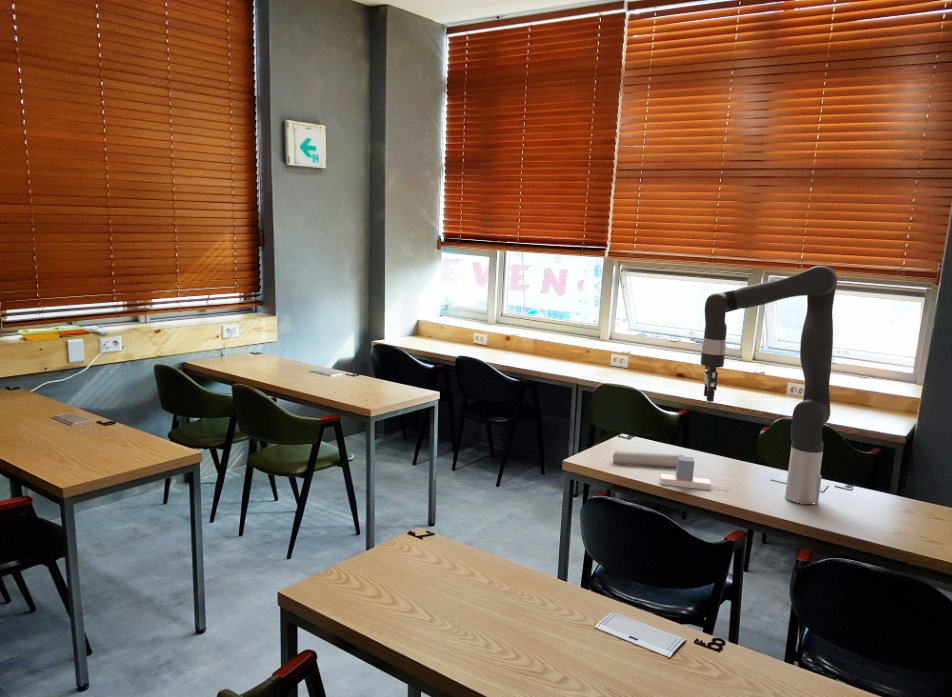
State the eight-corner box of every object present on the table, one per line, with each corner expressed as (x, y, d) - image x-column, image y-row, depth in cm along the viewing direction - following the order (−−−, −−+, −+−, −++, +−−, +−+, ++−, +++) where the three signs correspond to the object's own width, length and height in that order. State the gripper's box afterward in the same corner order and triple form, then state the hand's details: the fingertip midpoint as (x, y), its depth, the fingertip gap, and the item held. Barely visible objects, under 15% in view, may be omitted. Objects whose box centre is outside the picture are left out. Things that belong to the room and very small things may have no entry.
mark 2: (718, 486, 240) (718, 488, 240) (719, 490, 236) (719, 492, 236) (727, 487, 239) (727, 489, 239) (729, 491, 235) (729, 493, 235)
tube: (614, 455, 256) (684, 459, 255) (612, 446, 261) (681, 450, 260) (612, 467, 259) (682, 471, 258) (611, 458, 264) (679, 462, 263)
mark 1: (717, 488, 240) (718, 486, 240) (719, 492, 236) (719, 490, 236) (708, 487, 240) (708, 485, 240) (709, 490, 237) (710, 489, 236)
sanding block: (690, 477, 242) (692, 457, 240) (692, 482, 237) (694, 461, 236) (675, 475, 242) (677, 455, 241) (676, 480, 238) (678, 460, 237)
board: (708, 484, 241) (709, 479, 240) (710, 489, 236) (710, 484, 236) (659, 479, 244) (660, 473, 244) (660, 484, 239) (661, 478, 239)
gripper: (727, 356, 234) (722, 404, 236) (722, 350, 247) (717, 395, 250) (704, 354, 235) (699, 402, 237) (699, 348, 249) (695, 393, 251)
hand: (708, 398), depth 244 cm, fingers open, 8 cm apart
